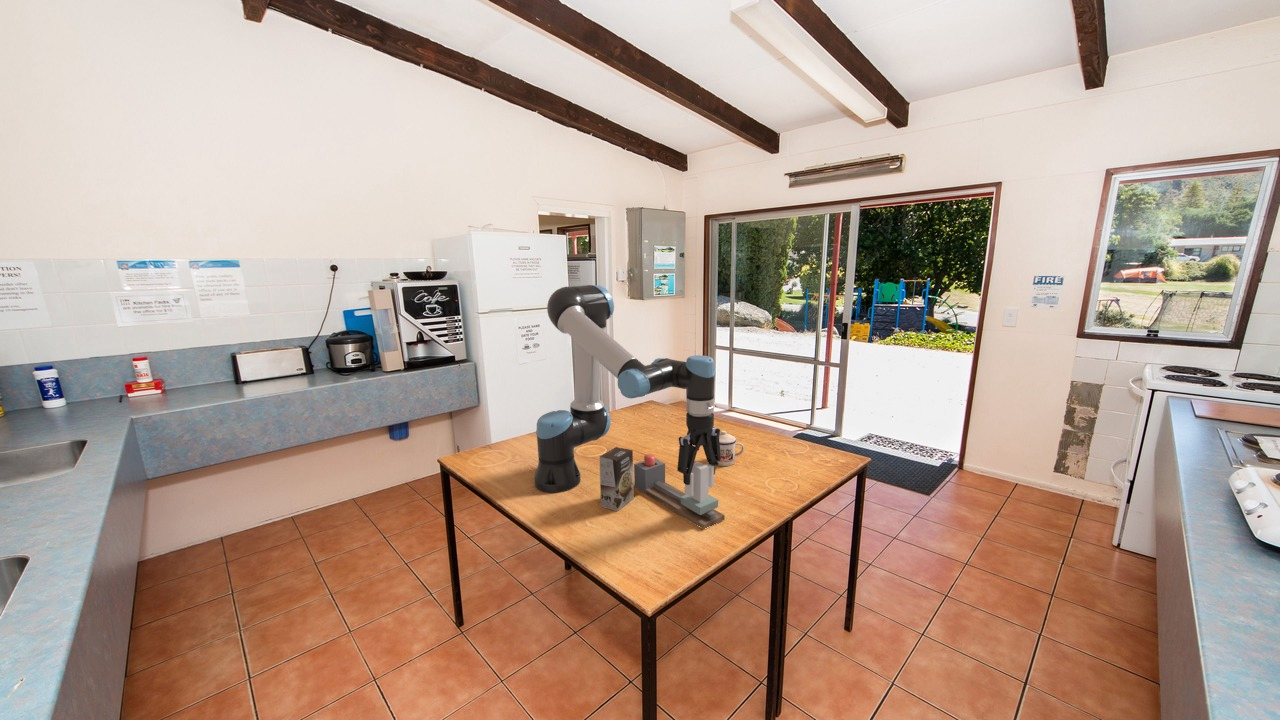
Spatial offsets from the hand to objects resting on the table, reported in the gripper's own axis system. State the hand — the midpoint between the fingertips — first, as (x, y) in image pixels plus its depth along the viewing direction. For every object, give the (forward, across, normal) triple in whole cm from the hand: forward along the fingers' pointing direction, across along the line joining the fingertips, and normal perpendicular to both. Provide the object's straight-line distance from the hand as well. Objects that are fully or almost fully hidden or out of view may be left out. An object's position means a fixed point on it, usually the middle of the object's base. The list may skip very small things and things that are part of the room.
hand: (699, 489), depth 132 cm
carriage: (+5, 0, 0) cm, 5 cm away
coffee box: (+8, -14, +21) cm, 27 cm away
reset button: (+3, 0, +23) cm, 23 cm away
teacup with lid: (+8, +34, +21) cm, 41 cm away
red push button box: (+8, 0, +23) cm, 24 cm away
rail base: (+8, 0, +7) cm, 11 cm away
